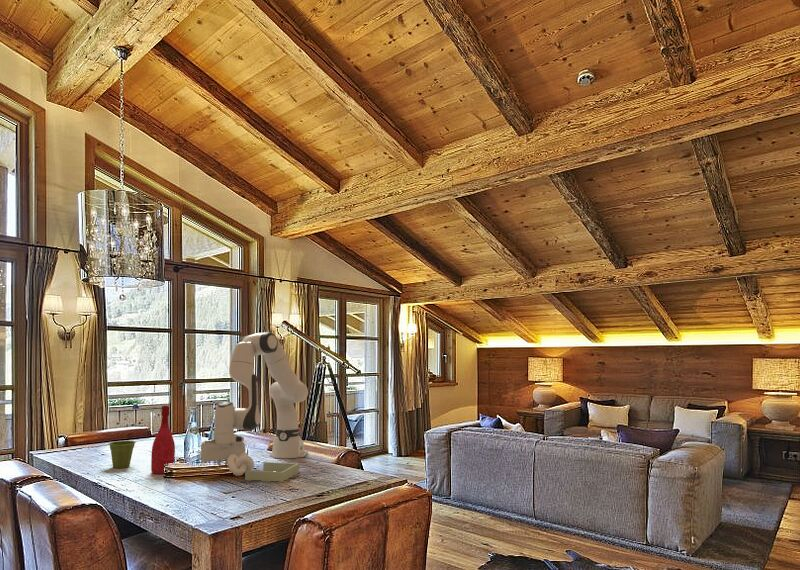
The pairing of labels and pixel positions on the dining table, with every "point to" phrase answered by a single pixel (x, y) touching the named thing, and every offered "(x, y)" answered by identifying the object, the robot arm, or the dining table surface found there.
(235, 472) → the cream lumpy rounded piece
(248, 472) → the frame
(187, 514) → the dining table surface
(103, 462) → the dining table surface
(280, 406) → the robot arm
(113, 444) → the plant pot
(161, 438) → the wine bottle
